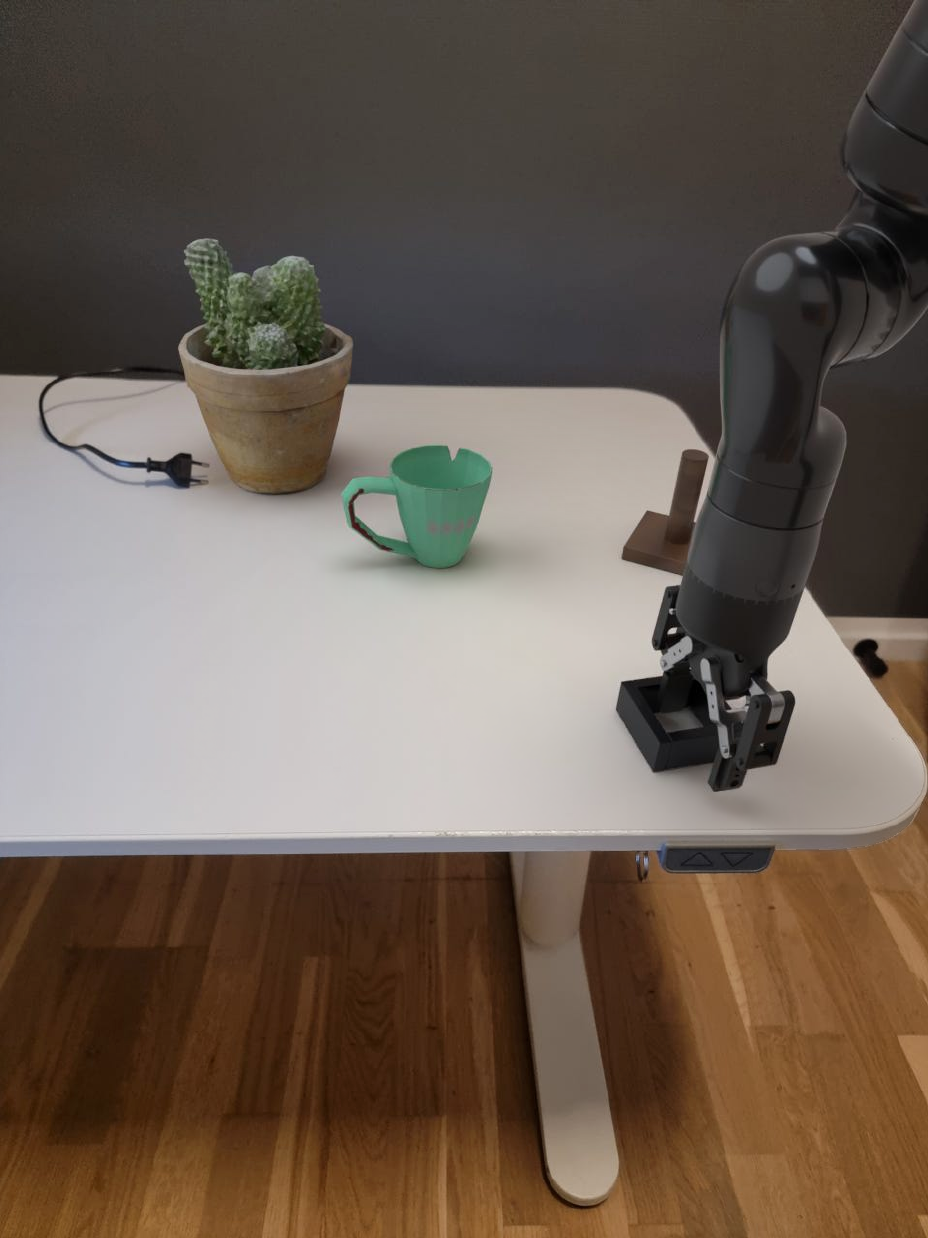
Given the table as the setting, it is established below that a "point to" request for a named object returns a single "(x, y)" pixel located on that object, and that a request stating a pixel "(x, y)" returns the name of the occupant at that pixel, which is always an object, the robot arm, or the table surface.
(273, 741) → the table surface
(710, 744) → the ring
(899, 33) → the robot arm
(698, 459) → the post
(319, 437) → the potted plant
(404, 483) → the mug
